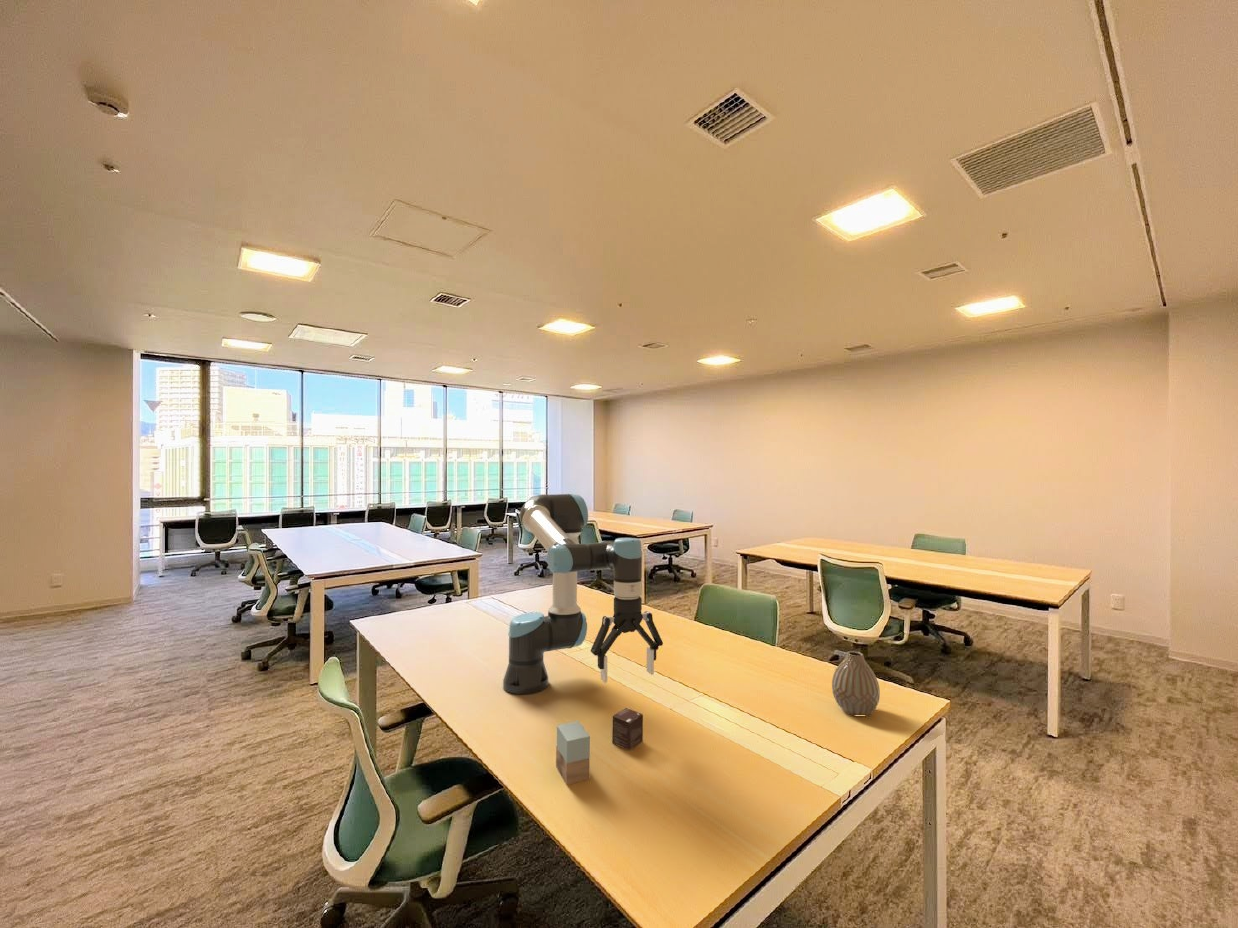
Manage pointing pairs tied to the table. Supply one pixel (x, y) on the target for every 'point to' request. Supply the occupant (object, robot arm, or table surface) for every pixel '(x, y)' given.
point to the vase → (855, 685)
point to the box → (627, 728)
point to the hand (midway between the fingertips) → (627, 676)
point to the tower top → (573, 741)
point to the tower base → (572, 769)
